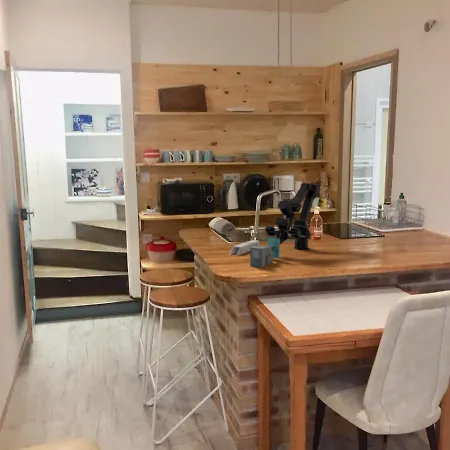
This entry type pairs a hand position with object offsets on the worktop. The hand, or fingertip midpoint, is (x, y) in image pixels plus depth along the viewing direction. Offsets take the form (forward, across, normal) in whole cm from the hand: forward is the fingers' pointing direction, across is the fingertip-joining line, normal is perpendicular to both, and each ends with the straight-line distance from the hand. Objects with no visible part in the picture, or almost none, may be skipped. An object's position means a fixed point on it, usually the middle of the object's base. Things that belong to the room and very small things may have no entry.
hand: (277, 245), depth 254 cm
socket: (+19, 0, -9) cm, 21 cm away
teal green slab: (+11, 0, -3) cm, 11 cm away
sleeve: (+14, 0, -4) cm, 15 cm away
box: (+2, -23, +8) cm, 25 cm away
